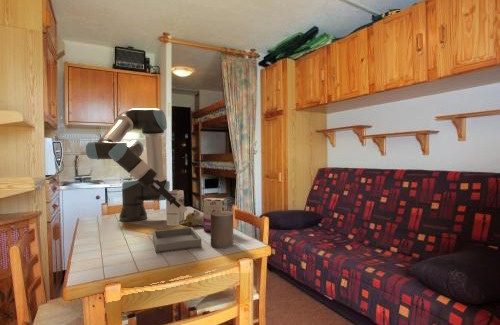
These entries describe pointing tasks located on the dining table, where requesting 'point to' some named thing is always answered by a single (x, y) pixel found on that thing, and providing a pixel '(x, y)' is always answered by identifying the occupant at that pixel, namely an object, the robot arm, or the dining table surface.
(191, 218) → the ceramic sculpture
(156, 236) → the tray
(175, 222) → the syrup box
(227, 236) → the pillar candle
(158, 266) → the dining table surface
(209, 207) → the candy bar box
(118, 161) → the robot arm
